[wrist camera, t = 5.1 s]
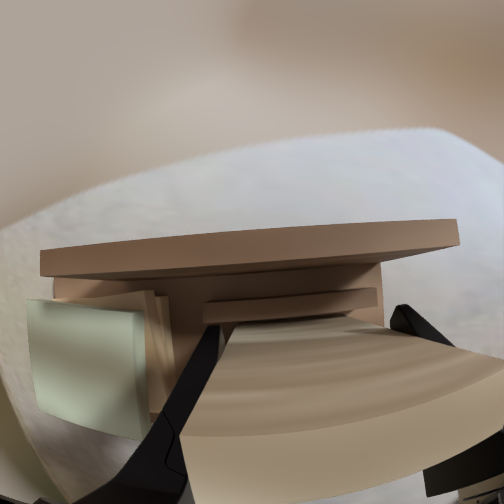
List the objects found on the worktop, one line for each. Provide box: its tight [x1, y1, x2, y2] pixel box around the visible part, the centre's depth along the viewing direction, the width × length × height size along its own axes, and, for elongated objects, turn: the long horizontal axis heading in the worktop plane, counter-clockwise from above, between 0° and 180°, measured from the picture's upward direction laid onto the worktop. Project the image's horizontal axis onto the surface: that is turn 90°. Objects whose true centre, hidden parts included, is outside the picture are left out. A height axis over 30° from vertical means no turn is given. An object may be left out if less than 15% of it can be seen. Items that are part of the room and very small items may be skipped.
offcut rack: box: [40, 219, 460, 422], centre depth 13 cm, size 10×22×10 cm, turn 94°
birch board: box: [179, 314, 504, 504], centre depth 10 cm, size 2×6×13 cm, turn 94°
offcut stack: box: [27, 290, 177, 441], centre depth 14 cm, size 8×8×4 cm
